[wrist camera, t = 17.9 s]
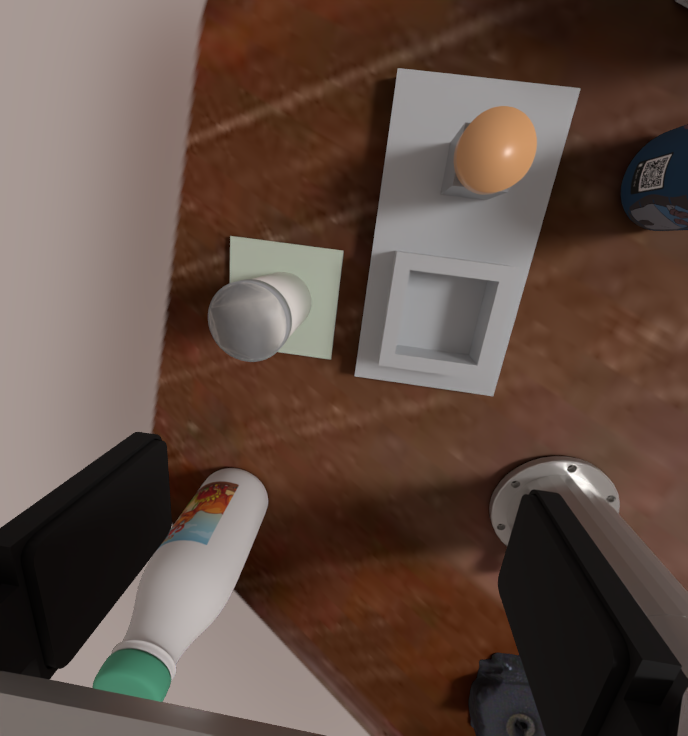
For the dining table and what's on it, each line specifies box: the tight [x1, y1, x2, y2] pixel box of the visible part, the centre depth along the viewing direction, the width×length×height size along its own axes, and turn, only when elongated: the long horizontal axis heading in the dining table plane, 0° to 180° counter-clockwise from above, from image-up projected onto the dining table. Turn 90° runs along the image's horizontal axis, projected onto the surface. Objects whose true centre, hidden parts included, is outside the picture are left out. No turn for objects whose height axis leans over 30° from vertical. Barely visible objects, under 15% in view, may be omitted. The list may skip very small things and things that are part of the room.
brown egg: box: [454, 106, 537, 195], centre depth 24 cm, size 4×4×6 cm
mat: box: [230, 236, 344, 359], centre depth 34 cm, size 10×10×1 cm
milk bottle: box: [93, 468, 268, 702], centre depth 33 cm, size 8×8×20 cm
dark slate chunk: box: [469, 653, 546, 736], centre depth 47 cm, size 15×22×5 cm
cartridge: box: [208, 272, 312, 362], centre depth 29 cm, size 5×5×10 cm
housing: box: [355, 68, 581, 396], centre depth 29 cm, size 24×13×6 cm, turn 173°
